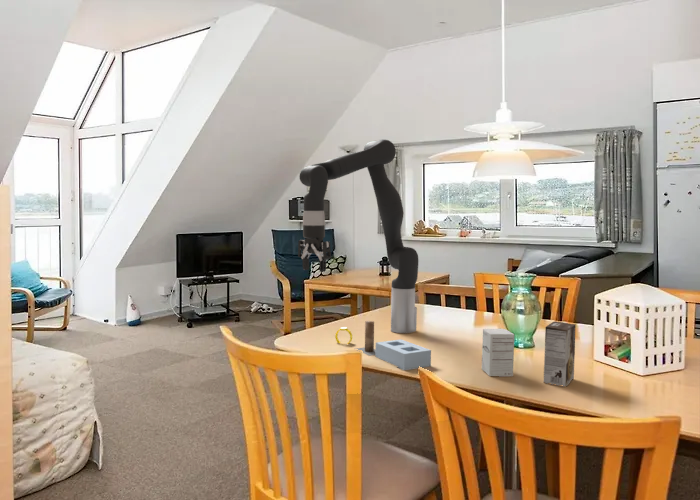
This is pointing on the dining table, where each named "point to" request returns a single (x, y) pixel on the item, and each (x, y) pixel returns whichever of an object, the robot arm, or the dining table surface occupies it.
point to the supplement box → (498, 352)
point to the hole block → (403, 354)
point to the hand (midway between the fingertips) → (314, 270)
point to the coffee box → (559, 353)
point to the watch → (343, 330)
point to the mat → (367, 352)
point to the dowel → (369, 336)
